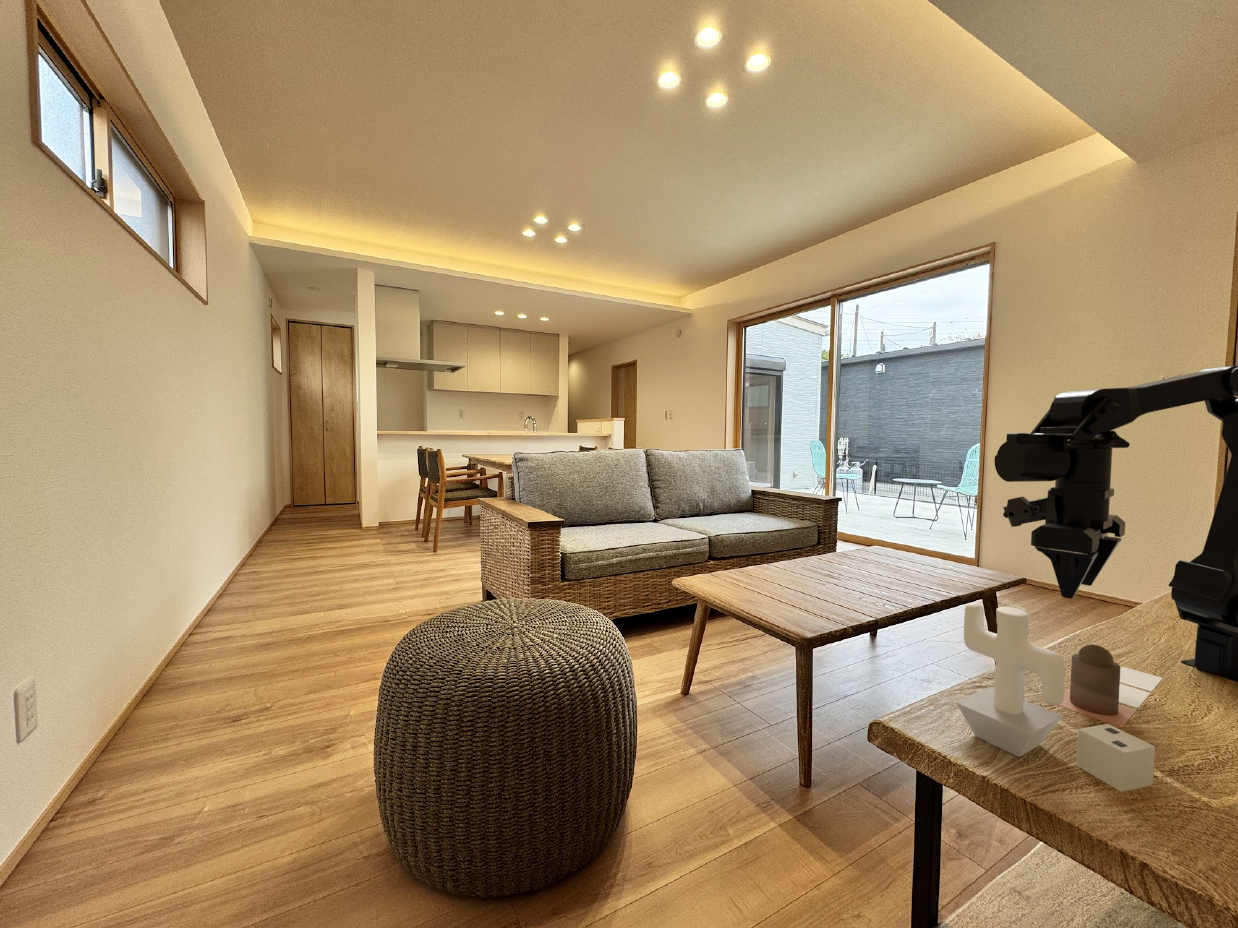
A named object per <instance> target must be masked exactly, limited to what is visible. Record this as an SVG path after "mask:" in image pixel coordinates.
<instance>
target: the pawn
mask: <svg viewBox="0 0 1238 928" xmlns="http://www.w3.org/2000/svg"><path fill="white" fill-rule="evenodd" d="M1120 666H1121V665H1120V664H1119V663H1118V662H1116V661H1115V660H1114V656H1113V655H1112V654H1111V652H1110V651H1109V650H1108V649H1107V648H1105V647H1103V646H1101V645H1098V644H1085V645H1084V646H1082V647H1081V648H1080V649H1079V651H1078V653H1075V654H1073V655H1071V666H1070V667H1071V668H1070V686H1069V688H1070V702H1071V703H1072V704H1073V705H1075V706H1077V707H1078V708H1081V709H1083V710H1085V711H1088V712H1091V713H1095V714H1100V715H1108V716H1111V715H1116V714H1118V706H1119V704H1120V703H1119V687H1120V684H1121V683H1120V668H1121V667H1120Z"/></svg>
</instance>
